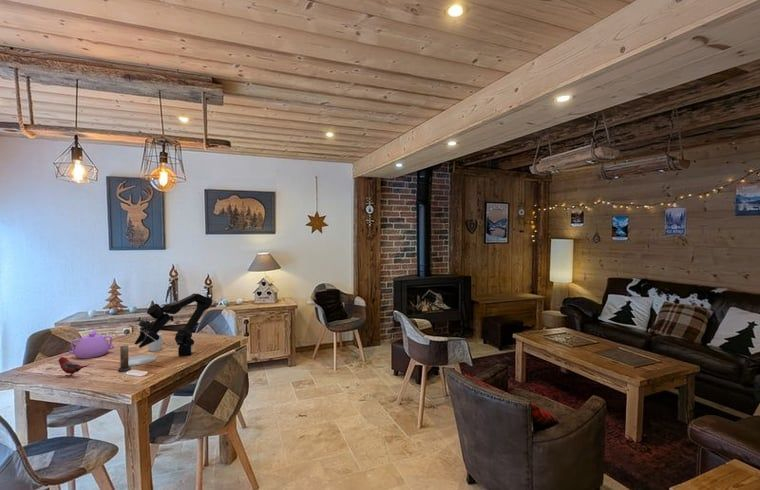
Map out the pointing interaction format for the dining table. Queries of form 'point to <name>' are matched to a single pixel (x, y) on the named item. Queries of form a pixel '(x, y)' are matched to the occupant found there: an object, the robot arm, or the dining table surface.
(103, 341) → the teapot
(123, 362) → the brown tapered knob
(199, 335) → the dining table surface
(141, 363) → the white smooth round part
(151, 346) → the white cup
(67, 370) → the decorative bird figurine
